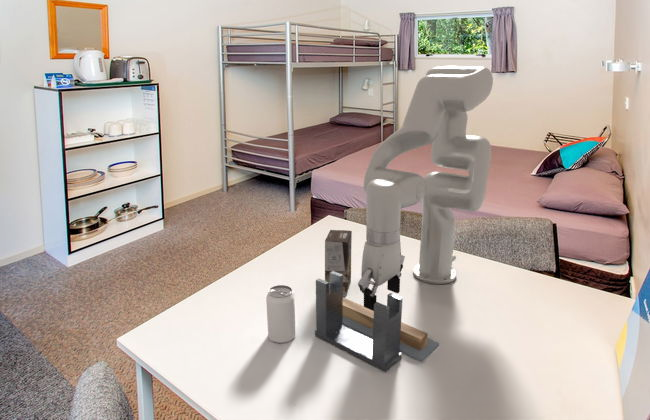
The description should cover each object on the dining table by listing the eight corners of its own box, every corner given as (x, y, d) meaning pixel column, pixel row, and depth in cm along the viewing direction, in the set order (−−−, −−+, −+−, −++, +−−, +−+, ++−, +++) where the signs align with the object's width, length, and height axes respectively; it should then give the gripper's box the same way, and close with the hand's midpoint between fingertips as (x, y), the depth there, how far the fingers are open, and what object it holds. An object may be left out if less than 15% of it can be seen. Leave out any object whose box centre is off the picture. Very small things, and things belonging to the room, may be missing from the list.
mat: (344, 303, 121) (344, 301, 120) (439, 345, 103) (439, 343, 103) (324, 316, 115) (324, 314, 115) (421, 362, 97) (422, 359, 97)
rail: (344, 308, 117) (344, 298, 116) (426, 344, 102) (427, 333, 101) (337, 312, 115) (337, 302, 114) (420, 350, 100) (420, 339, 99)
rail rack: (331, 325, 111) (331, 270, 106) (401, 359, 98) (404, 298, 94) (314, 336, 107) (314, 279, 102) (385, 372, 94) (388, 310, 89)
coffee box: (347, 296, 124) (347, 242, 119) (324, 294, 126) (323, 240, 120) (351, 281, 133) (352, 230, 128) (330, 279, 134) (330, 228, 129)
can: (280, 325, 111) (278, 281, 107) (301, 333, 108) (299, 289, 104) (262, 338, 106) (259, 292, 102) (283, 347, 103) (282, 301, 99)
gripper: (390, 218, 110) (389, 280, 116) (346, 242, 98) (347, 310, 104) (417, 225, 105) (414, 289, 111) (374, 251, 93) (373, 322, 99)
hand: (382, 299), depth 107 cm, fingers open, 9 cm apart
